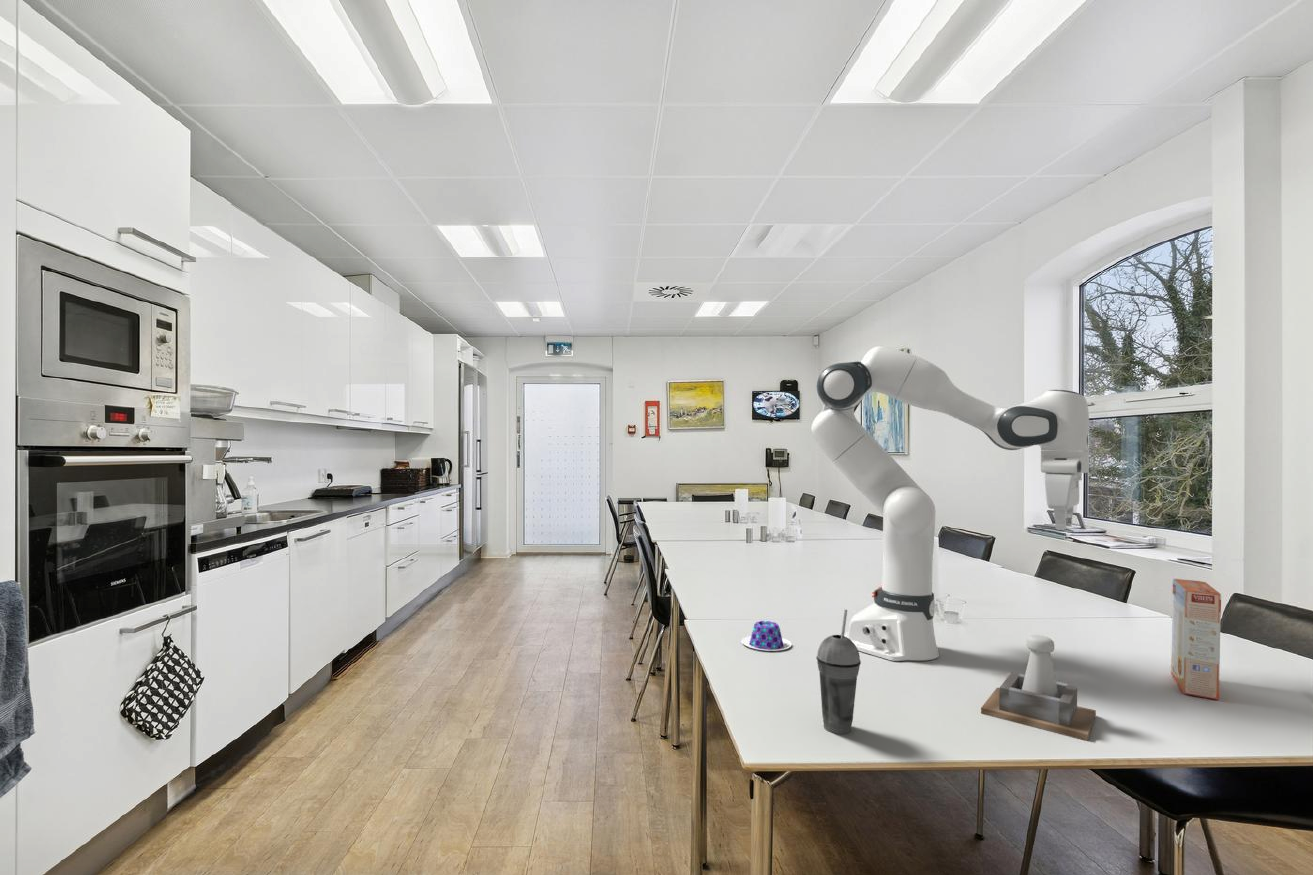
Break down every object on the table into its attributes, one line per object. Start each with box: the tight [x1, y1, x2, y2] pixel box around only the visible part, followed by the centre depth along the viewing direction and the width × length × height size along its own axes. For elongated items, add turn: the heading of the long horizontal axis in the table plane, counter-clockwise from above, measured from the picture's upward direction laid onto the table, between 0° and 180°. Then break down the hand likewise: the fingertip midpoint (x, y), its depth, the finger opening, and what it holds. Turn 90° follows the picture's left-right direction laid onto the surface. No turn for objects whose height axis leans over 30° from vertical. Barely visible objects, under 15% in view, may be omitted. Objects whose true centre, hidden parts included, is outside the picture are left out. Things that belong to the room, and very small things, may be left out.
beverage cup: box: [815, 609, 862, 735], centre depth 107 cm, size 7×7×20 cm
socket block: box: [980, 671, 1097, 742], centre depth 114 cm, size 16×13×5 cm
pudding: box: [740, 620, 793, 652], centre depth 152 cm, size 12×12×5 cm
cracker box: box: [1170, 578, 1222, 701], centre depth 129 cm, size 14×6×21 cm, turn 148°
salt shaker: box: [1022, 634, 1059, 698], centre depth 114 cm, size 6×6×13 cm
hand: (1063, 527), depth 138 cm, fingers open, 8 cm apart
